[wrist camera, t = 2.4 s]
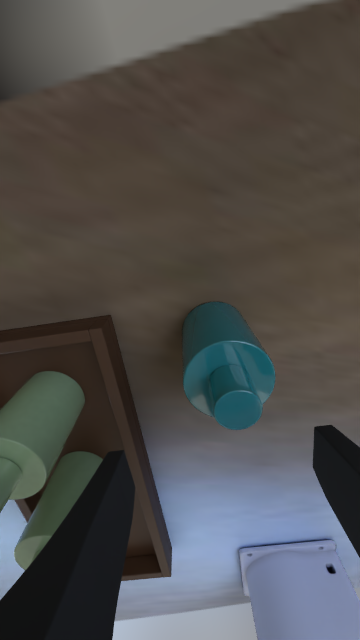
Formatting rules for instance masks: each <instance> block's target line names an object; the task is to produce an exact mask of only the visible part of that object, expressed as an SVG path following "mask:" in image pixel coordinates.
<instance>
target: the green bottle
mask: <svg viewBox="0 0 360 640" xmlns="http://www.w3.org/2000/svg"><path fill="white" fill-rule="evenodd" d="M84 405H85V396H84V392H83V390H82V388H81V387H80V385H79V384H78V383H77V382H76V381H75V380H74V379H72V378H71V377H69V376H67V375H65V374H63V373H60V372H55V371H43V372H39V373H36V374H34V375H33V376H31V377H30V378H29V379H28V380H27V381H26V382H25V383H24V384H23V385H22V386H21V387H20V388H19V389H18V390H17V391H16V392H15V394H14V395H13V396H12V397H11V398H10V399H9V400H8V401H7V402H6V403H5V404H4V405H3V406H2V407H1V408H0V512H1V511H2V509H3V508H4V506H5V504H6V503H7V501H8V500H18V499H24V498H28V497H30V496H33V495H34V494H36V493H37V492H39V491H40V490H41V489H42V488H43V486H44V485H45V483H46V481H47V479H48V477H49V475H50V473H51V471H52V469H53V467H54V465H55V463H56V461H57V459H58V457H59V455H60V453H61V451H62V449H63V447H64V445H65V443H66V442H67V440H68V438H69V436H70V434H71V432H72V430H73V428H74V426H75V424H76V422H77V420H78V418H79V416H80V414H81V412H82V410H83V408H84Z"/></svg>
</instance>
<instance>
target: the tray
mask: <svg viewBox="0 0 360 640" xmlns="http://www.w3.org/2000/svg"><path fill="white" fill-rule="evenodd" d="M43 371H55V372H60V373H63V374H65V375H67V376H69V377H71V378H72V379H74V380H75V381H76V382H77V383H78V384H79V385H80V387H81V388H82V390H83V392H84V396H85V405H84V408H83V410H82V412H81V414H80V416H79V418H78V420H77V422H76V424H75V426H74V428H73V430H72V432H71V434H70V436H69V438H68V440H67V442H66V443H65V445H64V447H63V449H62V451H61V453H60V455H59V457H58V459H57V461H56V463H55V465H54V467H53V469H52V471H51V473H50V475H49V477H48V479H47V481H46V483H45V485H44V486H43V488H42V489H41V490H40V491H39V492H37V493H36V494H34V495H33V496H30V497H28V498H24V499H18V500H15V502H16V503H17V505H18V507H19V509H20V511H21V512H22V514H23V516H24V518H25V520H26V522H27V523H28V521H29V519H30V517H31V515H32V513H33V511H34V509H35V507H36V505H37V503H38V501H39V499H40V497H41V495H42V493H43V491H44V489H45V487H46V485H47V483H48V481H49V479H50V477H51V475H52V473H53V471H54V469H55V467H56V465H57V463H58V461H59V460H60V459H61V458H62V457H63V456H64V455H66V454H68V453H71V452H76V451H84V452H90V453H93V454H95V455H97V456H99V457H101V458H102V459H104V457H105V456H106V454H107V453H108V452H110V451H118V450H124V452H125V455H126V458H127V461H128V465H129V468H130V471H131V474H132V478H133V481H134V484H135V498H134V510H133V519H132V525H131V530H130V536H129V541H128V547H127V552H126V557H125V563H124V568H123V573H122V579H121V581H127V580H138V579H149V578H160V577H171V565H172V547H171V543H170V539H169V536H168V532H167V528H166V524H165V520H164V517H163V513H162V509H161V505H160V501H159V497H158V494H157V490H156V486H155V482H154V478H153V475H152V471H151V467H150V463H149V459H148V455H147V452H146V448H145V444H144V440H143V436H142V433H141V429H140V425H139V421H138V417H137V413H136V410H135V406H134V402H133V398H132V394H131V391H130V387H129V383H128V379H127V375H126V371H125V368H124V364H123V360H122V356H121V352H120V348H119V345H118V341H117V337H116V333H115V329H114V326H113V322H112V318H111V315H107V316H100V317H93V318H86V319H79V320H72V321H66V322H59V323H52V324H45V325H38V326H31V327H24V328H17V329H10V330H3V331H0V408H1V407H2V406H3V405H4V404H5V403H6V402H7V401H8V400H9V399H10V398H11V397H12V396H13V395H14V394H15V392H16V391H17V390H18V389H19V388H20V387H21V386H22V385H23V384H24V383H25V382H26V381H27V380H28V379H29V378H30V377H31V376H33V375H34V374H36V373H39V372H43Z"/></svg>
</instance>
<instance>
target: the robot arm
mask: <svg viewBox="0 0 360 640" xmlns="http://www.w3.org/2000/svg"><path fill="white" fill-rule="evenodd" d="M313 469H314V471H315V473H316V476H317V478H318V480H319V483H320V485H321V487H322V489H323V492H324V494H325V496H326V498H327V500H328V502H329V504H330V506H331V507H332V509H333V511H334V513H335V515H336V516H337V518H338V520H339V522H340V524H341V525H342V527H343V529H344V531H345V532H346V534H347V536H348V538H349V540H350V541H351V543H352V545H353V547H354V548H355V550H356V552H357V554H358V556H359V557H360V447H358V446H357V445H356V444H355V443H353V442H352V441H351V440H350V439H348V438H347V437H346V436H345V435H344V434H342V433H341V432H340V431H339V430H337V429H336V428H335V427H333V426H332V425H326V426H317V427H314V450H313ZM134 498H135V484H134V481H133V478H132V474H131V471H130V468H129V465H128V461H127V458H126V455H125V452H124V450H118V451H110V452H108V453H107V454H106V456H105V457H104V459H103V460H102V462H101V464H100V465H99V467H98V469H97V470H96V472H95V473H94V475H93V476H92V478H91V480H90V481H89V483H88V484H87V486H86V487H85V489H84V491H83V492H82V494H81V495H80V496H79V498H78V499H77V501H76V502H75V504H74V505H73V507H72V508H71V510H70V511H69V513H68V514H67V516H66V517H65V519H64V520H63V521H62V523H61V524H60V526H59V527H58V528H57V530H56V531H55V532H54V534H53V535H52V537H51V538H50V539H49V541H48V542H47V543H46V545H45V546H44V547H43V549H42V550H41V551H40V553H39V554H38V555H37V557H36V558H35V559H34V560H33V562H32V563H31V564H30V565H29V567H28V568H27V569H26V570H25V572H24V573H23V574H22V575H21V577H20V578H19V579H18V580H17V581H16V583H15V584H14V585H13V586H12V587H11V588H10V590H9V591H8V592H7V593H6V594H5V595H4V597H3V598H2V599H1V600H0V640H112V636H113V627H114V620H115V613H116V607H117V600H118V595H119V589H120V584H121V579H122V573H123V568H124V563H125V557H126V552H127V547H128V541H129V536H130V530H131V525H132V519H133V510H134ZM239 556H240V565H241V574H242V583H243V591H244V595H245V596H250V601H251V606H252V611H253V617H254V622H255V627H256V633H257V638H258V640H360V600H359V598H358V596H357V594H356V592H355V590H354V588H353V586H352V584H351V581H350V579H349V577H348V575H347V573H346V571H345V569H344V567H343V565H342V562H341V560H340V558H339V556H338V554H337V552H336V545H335V542H334V541H333V540H323V541H313V542H302V543H292V544H282V545H271V546H261V547H250V548H242V549H240V550H239Z"/></svg>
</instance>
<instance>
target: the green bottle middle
mask: <svg viewBox="0 0 360 640" xmlns="http://www.w3.org/2000/svg"><path fill="white" fill-rule="evenodd" d="M102 460H103V459H102V458H101V457H99V456H97V455H95V454H93V453H90V452H84V451H76V452H71V453H68V454H66V455H64V456H63V457H62V458H61V459H60V460H59V461H58V463H57V465H56V467H55V469H54V471H53V473H52V475H51V477H50V479H49V481H48V483H47V485H46V487H45V489H44V491H43V493H42V495H41V497H40V499H39V501H38V503H37V505H36V507H35V509H34V511H33V513H32V515H31V517H30V519H29V521H28V523H27V525H26V527H25V529H24V531H23V533H22V535H21V537H20V539H19V541H18V543H17V545H16V547H15V549H14V557H15V560H16V562H17V563H18V565H19V566H20V567H22V568H23V569H24V570H26V569H27V568H28V567H29V565H30V564H31V563H32V562H33V560H34V559H35V558H36V557H37V555H38V554H39V553H40V551H41V550H42V549H43V547H44V546H45V545H46V543H47V542H48V541H49V539H50V538H51V537H52V535H53V534H54V532H55V531H56V530H57V528H58V527H59V526H60V524H61V523H62V521H63V520H64V519H65V517H66V516H67V514H68V513H69V511H70V510H71V508H72V507H73V505H74V504H75V502H76V501H77V499H78V498H79V496H80V495H81V494H82V492H83V491H84V489H85V487H86V486H87V484H88V483H89V481H90V480H91V478H92V476H93V475H94V473H95V472H96V470H97V469H98V467H99V465H100V464H101V462H102Z"/></svg>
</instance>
